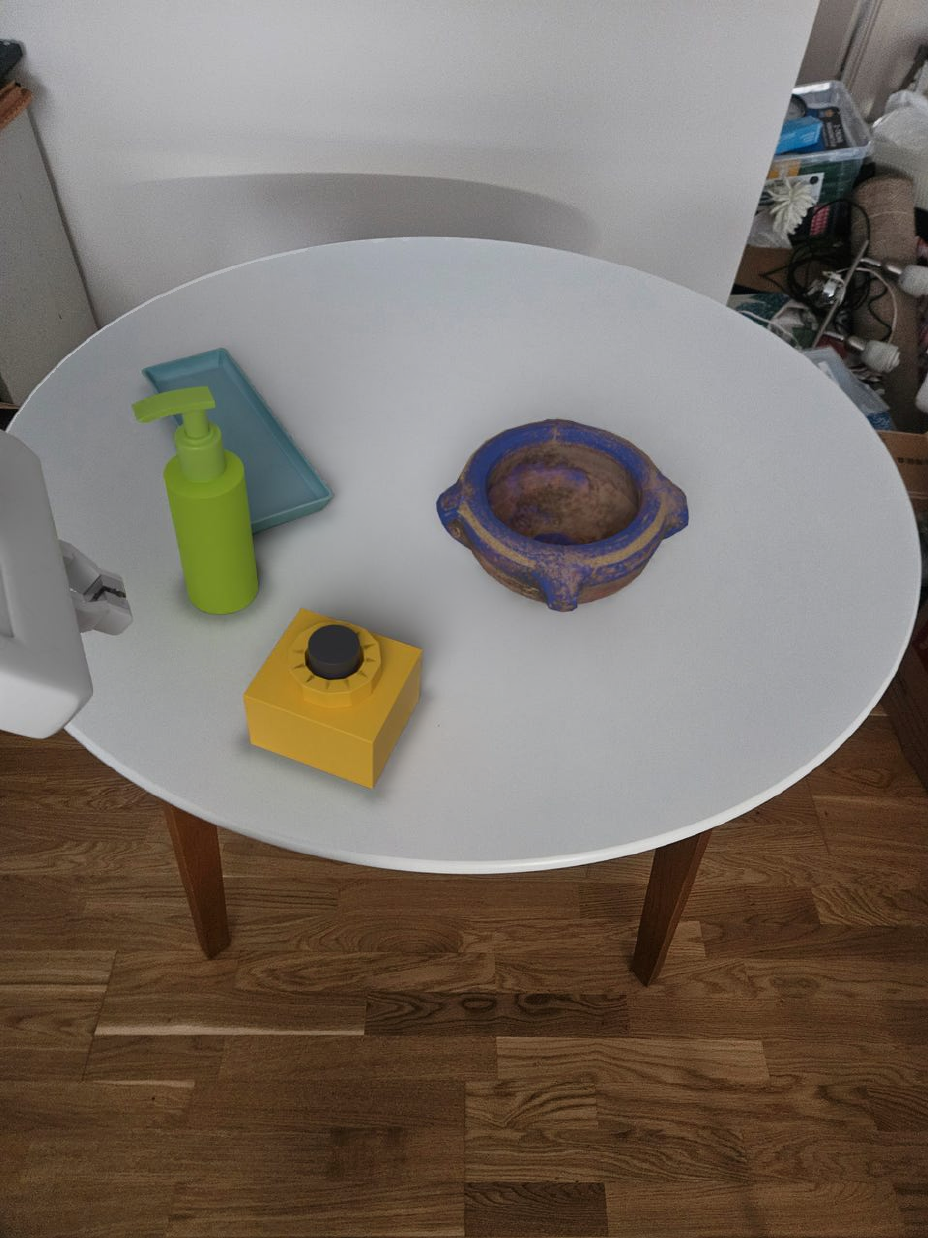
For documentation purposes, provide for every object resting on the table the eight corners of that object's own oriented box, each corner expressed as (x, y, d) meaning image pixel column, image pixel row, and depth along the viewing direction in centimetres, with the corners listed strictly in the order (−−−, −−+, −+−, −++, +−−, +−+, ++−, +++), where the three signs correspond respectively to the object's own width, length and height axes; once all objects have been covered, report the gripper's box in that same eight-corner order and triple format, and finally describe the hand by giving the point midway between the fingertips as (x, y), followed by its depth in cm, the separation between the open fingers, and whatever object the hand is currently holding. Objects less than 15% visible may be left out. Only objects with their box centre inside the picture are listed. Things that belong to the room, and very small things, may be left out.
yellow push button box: (250, 743, 73) (239, 679, 67) (305, 657, 79) (299, 591, 72) (372, 789, 71) (373, 728, 65) (419, 698, 77) (423, 633, 71)
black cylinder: (300, 669, 68) (298, 654, 67) (322, 633, 71) (322, 618, 69) (346, 686, 68) (346, 671, 66) (368, 649, 70) (368, 634, 69)
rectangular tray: (142, 385, 100) (138, 364, 98) (227, 363, 103) (224, 342, 101) (242, 547, 86) (239, 527, 84) (336, 515, 89) (335, 495, 88)
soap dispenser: (167, 577, 83) (123, 381, 68) (246, 556, 85) (221, 363, 70) (185, 626, 80) (143, 432, 65) (267, 603, 82) (244, 411, 67)
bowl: (409, 547, 87) (413, 461, 80) (553, 471, 96) (569, 387, 88) (544, 675, 79) (563, 593, 72) (689, 579, 88) (719, 497, 80)
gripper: (-77, 640, 39) (197, 711, 50) (-107, 357, 51) (120, 462, 62) (-154, 734, 41) (124, 783, 52) (-166, 441, 53) (63, 529, 64)
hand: (121, 607), depth 57 cm, fingers closed
